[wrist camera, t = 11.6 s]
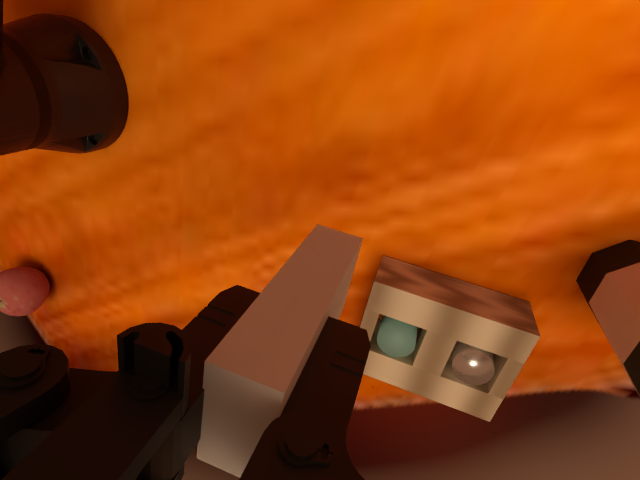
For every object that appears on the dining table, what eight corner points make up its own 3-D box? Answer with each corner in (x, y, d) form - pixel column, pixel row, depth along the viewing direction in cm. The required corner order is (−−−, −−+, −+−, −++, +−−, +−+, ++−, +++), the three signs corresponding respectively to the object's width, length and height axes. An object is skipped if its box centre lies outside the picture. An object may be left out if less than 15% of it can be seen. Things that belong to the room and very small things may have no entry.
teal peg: (381, 318, 48) (372, 349, 43) (390, 291, 46) (382, 320, 41) (413, 329, 47) (408, 362, 42) (424, 303, 45) (420, 333, 40)
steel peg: (447, 341, 46) (446, 376, 41) (459, 314, 44) (460, 347, 39) (481, 353, 46) (485, 390, 41) (495, 327, 44) (501, 361, 39)
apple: (66, 278, 63) (17, 306, 56) (55, 306, 66) (8, 335, 59) (28, 249, 62) (-25, 273, 55) (20, 278, 66) (-31, 303, 59)
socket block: (358, 335, 50) (347, 367, 45) (383, 255, 45) (374, 281, 40) (485, 381, 47) (489, 421, 42) (529, 302, 42) (540, 336, 37)
